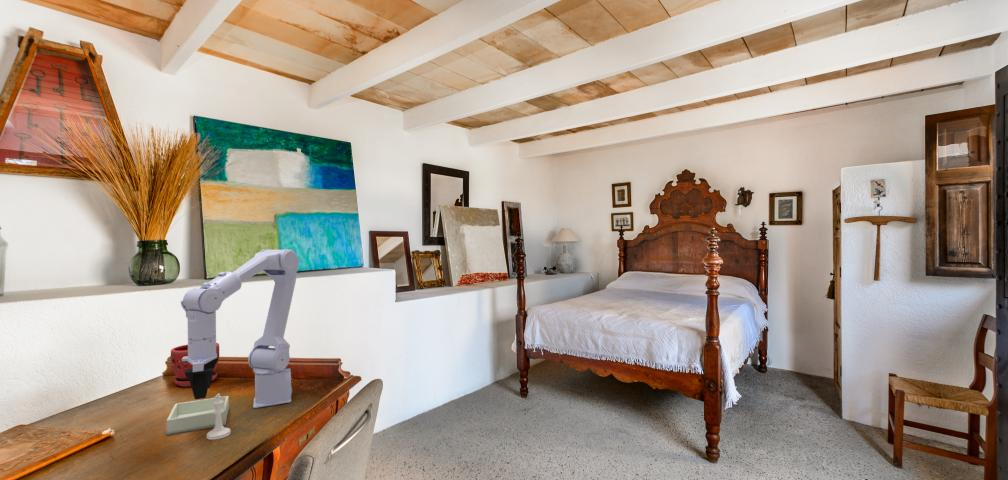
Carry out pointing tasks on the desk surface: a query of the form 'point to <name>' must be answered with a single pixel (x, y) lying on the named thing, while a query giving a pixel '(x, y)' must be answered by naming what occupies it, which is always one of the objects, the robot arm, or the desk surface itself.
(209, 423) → the box
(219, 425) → the chess piece
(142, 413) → the desk surface
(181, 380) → the plant pot
